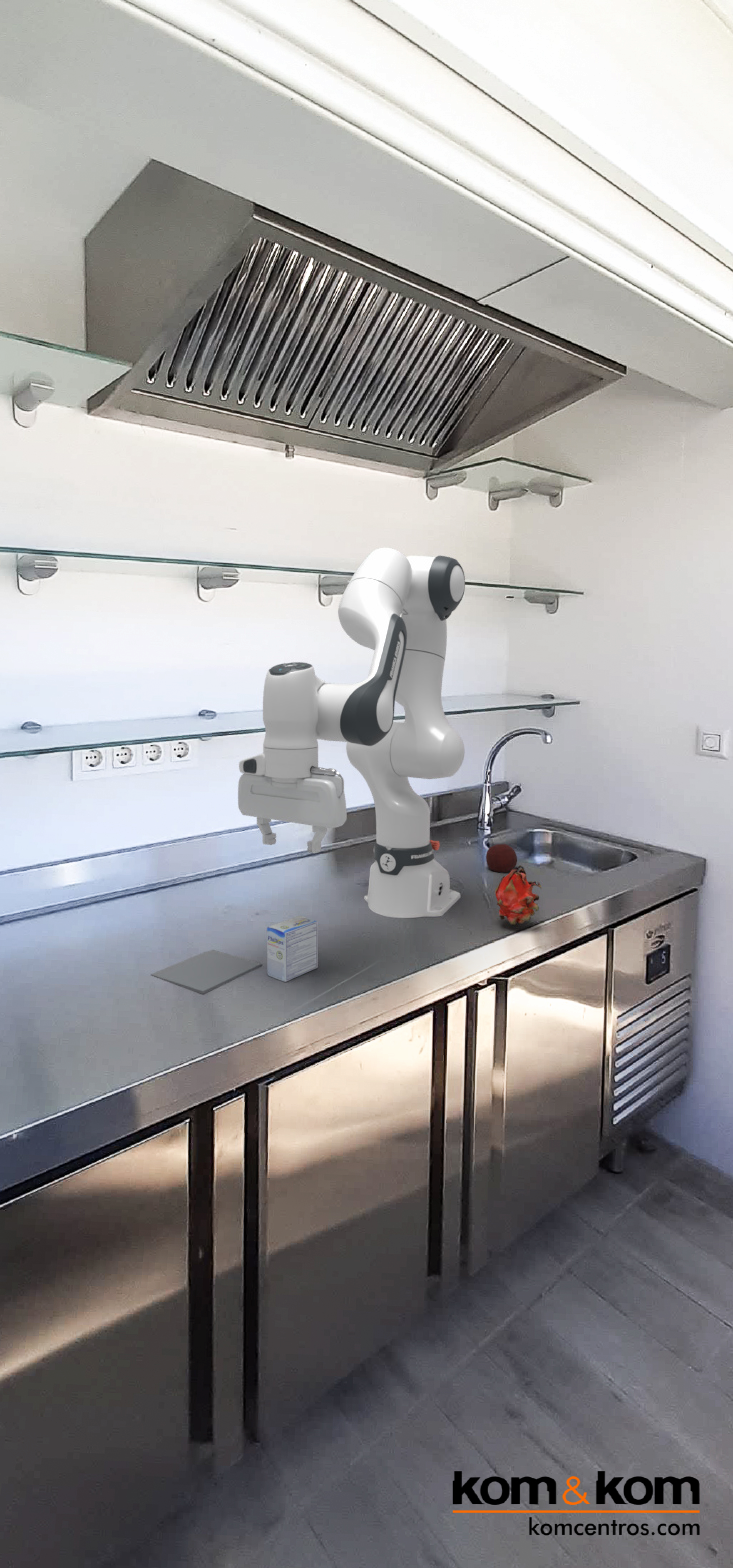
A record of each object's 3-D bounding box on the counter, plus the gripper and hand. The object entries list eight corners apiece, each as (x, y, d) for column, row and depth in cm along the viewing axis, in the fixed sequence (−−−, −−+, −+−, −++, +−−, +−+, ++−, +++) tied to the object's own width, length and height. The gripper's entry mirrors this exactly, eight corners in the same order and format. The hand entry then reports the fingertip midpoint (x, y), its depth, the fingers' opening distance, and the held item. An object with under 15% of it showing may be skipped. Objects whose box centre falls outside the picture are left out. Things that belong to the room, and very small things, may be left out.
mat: (211, 952, 148) (211, 949, 148) (262, 966, 141) (261, 963, 141) (150, 977, 136) (150, 974, 136) (203, 994, 130) (203, 991, 130)
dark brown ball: (479, 870, 203) (480, 842, 202) (506, 867, 206) (507, 839, 205) (496, 877, 197) (497, 849, 195) (523, 874, 200) (524, 846, 199)
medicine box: (299, 962, 143) (299, 914, 142) (318, 969, 140) (318, 920, 139) (266, 976, 137) (265, 926, 136) (285, 983, 134) (285, 932, 133)
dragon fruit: (517, 935, 157) (519, 874, 155) (484, 924, 163) (486, 865, 161) (546, 926, 162) (548, 867, 160) (512, 915, 169) (514, 858, 167)
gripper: (354, 767, 130) (354, 853, 132) (256, 757, 141) (257, 836, 143) (331, 772, 125) (331, 861, 127) (231, 761, 136) (232, 843, 138)
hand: (291, 848), depth 135 cm, fingers open, 8 cm apart
